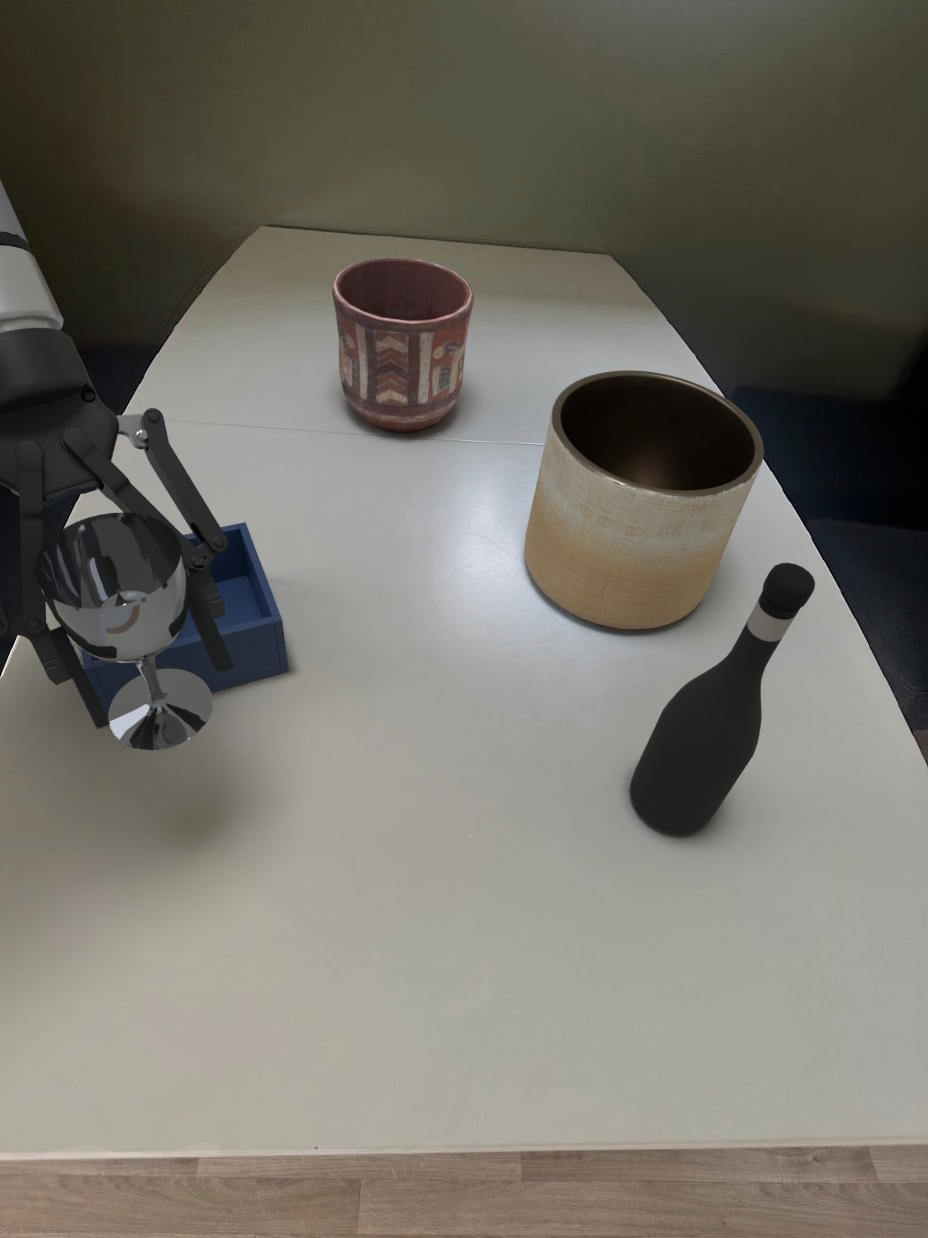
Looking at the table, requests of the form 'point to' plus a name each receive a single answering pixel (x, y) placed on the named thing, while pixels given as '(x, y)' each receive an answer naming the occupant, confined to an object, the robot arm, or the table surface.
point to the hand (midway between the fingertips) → (165, 695)
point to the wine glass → (128, 619)
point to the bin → (243, 628)
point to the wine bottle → (716, 717)
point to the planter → (638, 496)
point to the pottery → (401, 340)
